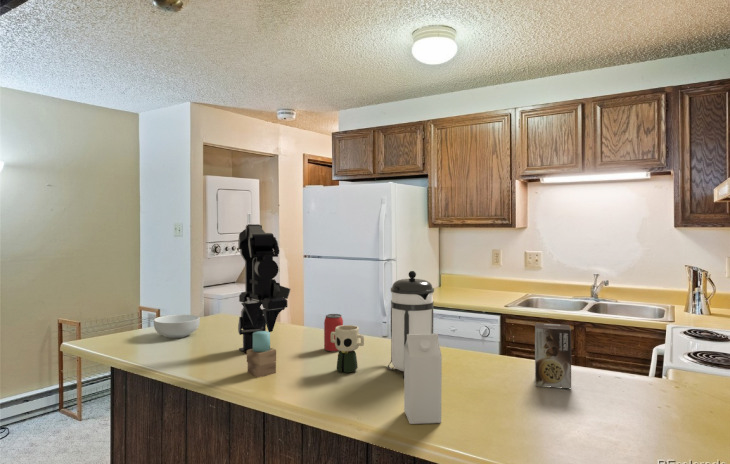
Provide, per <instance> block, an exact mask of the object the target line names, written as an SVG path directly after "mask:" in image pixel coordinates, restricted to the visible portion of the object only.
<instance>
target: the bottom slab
mask: <svg viewBox="0 0 730 464" xmlns="http://www.w3.org/2000/svg"><path fill="white" fill-rule="evenodd" d="M247 373H248V374H249V375H251V376H253V375H254V377H255V376H256V378H257V377H258V378H261V377H265V376H270V375H274V374H276V373H277V361H275V362H272V363H268V364H265V365H262V366H258V365H255V364H251V363H248V362H247Z"/></svg>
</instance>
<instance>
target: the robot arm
mask: <svg viewBox="0 0 730 464" xmlns="http://www.w3.org/2000/svg"><path fill="white" fill-rule="evenodd" d="M237 240H238V241H237V242H238V243H237V247H238V250H239V251H240V252H239V253H240V256H241V257H242V259H243V261H244V276H245V278H244V280H245V281H244V282H245V284H244V286H245V287H244V289H245V290H244V291H242V292H241V293H240V294H239V296H238V299H239V300H238V302H240V303H241V305H242V306H243V307H242V309H241V311H240V316H239V317H238V326H237V328H238V329H237V330H238V331H237V332H238V334H239V335H240V336H241V335H242V347H240V348H238V351H241V352H243V353H245V354H247V350H250V349H253V333H254V332H257V331H268V332H270V333H272V332H274V331H273V330H274V327H275V324H276V321H277V319H278V316H279V314H280V313H281V312H282V311H284V310H285V308H288V306H289V305H288V300H287V299H288V298H289V295H290V292H291V288H289V287H286V286H282V285H281V284H280V282H277V281H276V279H275V277H277V275H278V273H279V265H278V263H277V262H276V261H275V260H274V258H278V257H279V254H280V249H279V241H278V240H277V238H276V236H275V235H274V234H273V233H271V232H265V230H264V229H263V225H261V224H259V223H257V224H254V223H253V224H252V223H251V224H246V225H245V228H244V230H242V231H241V232H240V233H239V234H238V239H237ZM261 307H263V308H261ZM266 329H267V330H266Z"/></svg>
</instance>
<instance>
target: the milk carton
mask: <svg viewBox="0 0 730 464" xmlns="http://www.w3.org/2000/svg"><path fill="white" fill-rule="evenodd" d="M440 346H441V345H440V342H439V334H438V333H433V334H407V341H406V344H405V347H404V371H403V374H404V379H403V380H404V381H403V382H404V383H403V385H404V386H403V387H404V388H403V390H404V392H403V393H404V395H403V401H404V403H403V404H404V405H403V411H404V413H405V415H406V418H407V420H408V423H409V424H410V425H413V424H414V425H418V424H441V423H442V374H443V373H442V371H443V369H442V368H443V367H442V364H443V363H442V360H443V359H442V358H443V355H442V350H441V347H440Z"/></svg>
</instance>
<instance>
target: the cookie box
mask: <svg viewBox="0 0 730 464" xmlns="http://www.w3.org/2000/svg"><path fill="white" fill-rule="evenodd" d="M534 384H535V385H537V386H536V387H540V386H551V387H562V388H571V389H572V329H571V327H570V324H564V323H563V324H562V323H561V324H559V323H542V322H541V323H540V322H536V323H535V324H534Z"/></svg>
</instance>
